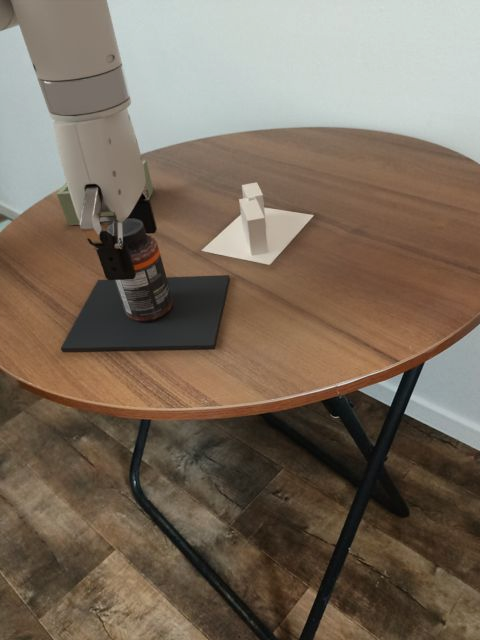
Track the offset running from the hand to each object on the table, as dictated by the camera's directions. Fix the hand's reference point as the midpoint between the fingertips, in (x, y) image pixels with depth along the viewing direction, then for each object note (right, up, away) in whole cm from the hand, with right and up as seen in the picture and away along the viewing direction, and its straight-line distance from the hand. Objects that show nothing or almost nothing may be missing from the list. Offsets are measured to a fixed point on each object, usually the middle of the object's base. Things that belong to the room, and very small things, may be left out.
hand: (133, 254), depth 59 cm
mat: (+1, -6, +5) cm, 8 cm away
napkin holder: (+14, +6, +18) cm, 24 cm away
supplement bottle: (+1, -6, +5) cm, 8 cm away
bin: (-11, +13, +29) cm, 34 cm away
